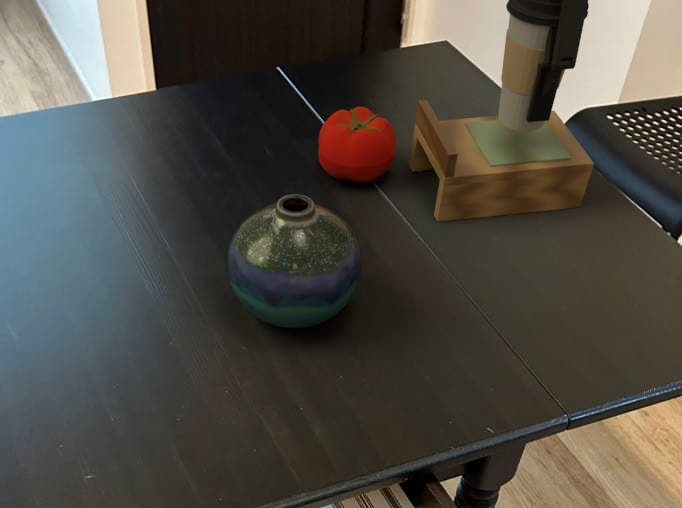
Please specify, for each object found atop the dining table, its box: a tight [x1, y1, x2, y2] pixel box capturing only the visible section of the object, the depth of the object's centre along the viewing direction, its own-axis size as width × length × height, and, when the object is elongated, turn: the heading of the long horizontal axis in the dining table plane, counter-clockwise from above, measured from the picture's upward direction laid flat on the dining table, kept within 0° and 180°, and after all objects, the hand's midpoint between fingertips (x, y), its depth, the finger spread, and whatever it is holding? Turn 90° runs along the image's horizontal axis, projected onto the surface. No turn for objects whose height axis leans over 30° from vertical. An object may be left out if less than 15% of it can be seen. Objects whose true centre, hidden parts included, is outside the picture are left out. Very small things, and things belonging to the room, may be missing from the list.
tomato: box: [318, 106, 397, 183], centre depth 113 cm, size 11×11×8 cm
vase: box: [226, 193, 363, 329], centre depth 93 cm, size 15×15×13 cm
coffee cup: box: [497, 0, 590, 132], centre depth 101 cm, size 9×9×15 cm
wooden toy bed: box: [408, 99, 595, 223], centre depth 110 cm, size 20×14×9 cm
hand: (525, 102), depth 105 cm, fingers closed on coffee cup, 8 cm apart
